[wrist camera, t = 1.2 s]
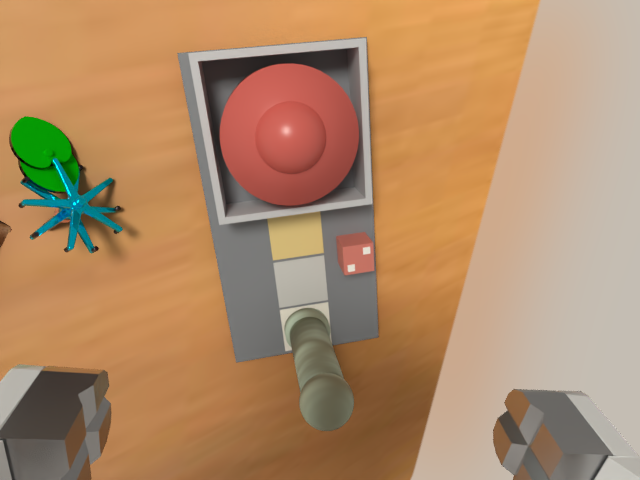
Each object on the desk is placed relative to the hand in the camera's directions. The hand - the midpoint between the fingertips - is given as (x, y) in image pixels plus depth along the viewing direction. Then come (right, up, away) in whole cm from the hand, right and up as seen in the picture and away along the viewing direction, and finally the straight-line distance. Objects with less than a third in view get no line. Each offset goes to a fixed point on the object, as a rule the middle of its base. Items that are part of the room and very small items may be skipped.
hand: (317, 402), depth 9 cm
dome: (-3, +13, +29) cm, 32 cm away
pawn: (-1, -6, +39) cm, 39 cm away
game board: (-3, +6, +35) cm, 35 cm away
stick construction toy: (-23, +8, +30) cm, 39 cm away
